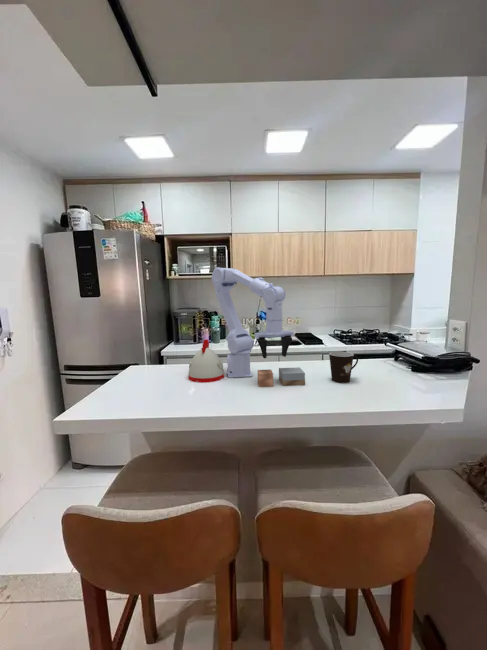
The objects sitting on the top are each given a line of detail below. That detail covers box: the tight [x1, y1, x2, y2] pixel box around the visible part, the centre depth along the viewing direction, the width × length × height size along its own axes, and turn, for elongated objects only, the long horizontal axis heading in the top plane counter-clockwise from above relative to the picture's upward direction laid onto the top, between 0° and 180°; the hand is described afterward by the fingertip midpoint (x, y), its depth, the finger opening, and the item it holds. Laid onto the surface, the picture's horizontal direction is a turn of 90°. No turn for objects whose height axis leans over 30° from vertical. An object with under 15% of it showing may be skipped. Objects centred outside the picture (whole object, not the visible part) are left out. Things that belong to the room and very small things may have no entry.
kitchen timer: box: [187, 339, 225, 383], centre depth 120 cm, size 14×14×15 cm
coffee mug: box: [328, 351, 359, 384], centre depth 113 cm, size 12×9×10 cm
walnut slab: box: [278, 375, 306, 387], centre depth 113 cm, size 8×8×2 cm
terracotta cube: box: [257, 369, 274, 388], centre depth 110 cm, size 5×5×5 cm
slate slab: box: [278, 366, 306, 381], centre depth 112 cm, size 8×8×2 cm
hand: (274, 356), depth 112 cm, fingers open, 7 cm apart
